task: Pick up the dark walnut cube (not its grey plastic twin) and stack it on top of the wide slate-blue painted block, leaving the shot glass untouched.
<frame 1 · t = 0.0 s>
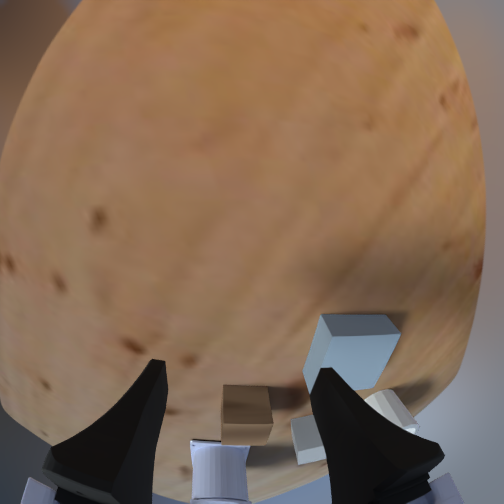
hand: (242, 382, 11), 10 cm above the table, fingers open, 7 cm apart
grey cube: (308, 423, 29), on the table
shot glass: (375, 402, 29), on the table
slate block: (343, 342, 24), on the table
walnut cube: (243, 398, 26), on the table
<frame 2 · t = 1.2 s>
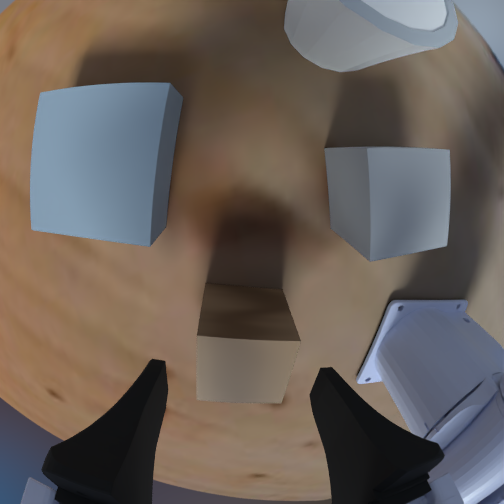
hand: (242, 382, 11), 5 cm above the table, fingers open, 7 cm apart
grey cube: (363, 185, 14), on the table
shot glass: (331, 32, 11), on the table
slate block: (114, 158, 13), on the table
walnut cube: (240, 317, 17), on the table
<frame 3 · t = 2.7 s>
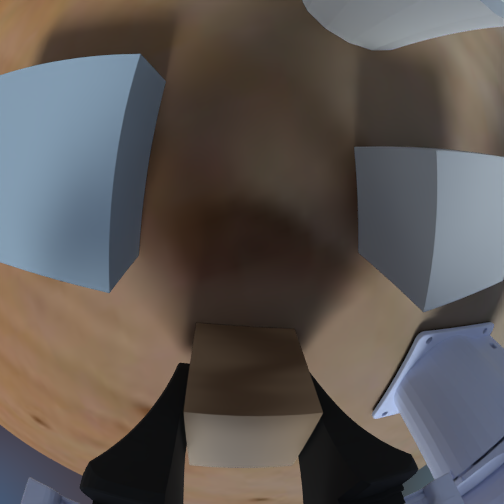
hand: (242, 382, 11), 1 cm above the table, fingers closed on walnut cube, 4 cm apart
grey cube: (400, 197, 10), on the table
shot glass: (356, 2, 7), on the table
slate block: (76, 161, 9), on the table
walnut cube: (241, 361, 13), on the table, touching gripper
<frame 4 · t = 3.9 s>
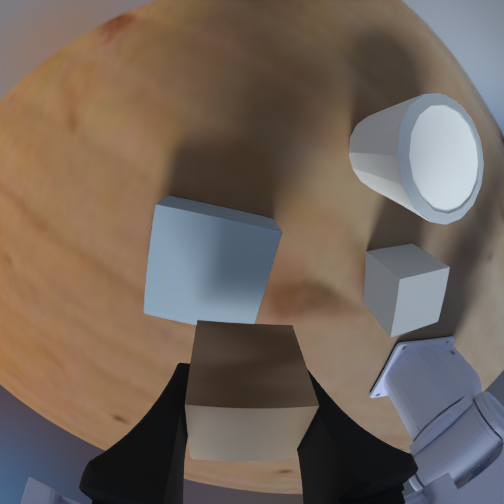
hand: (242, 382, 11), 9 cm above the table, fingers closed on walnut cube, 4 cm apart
grey cube: (388, 272, 20), on the table
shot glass: (381, 152, 17), on the table
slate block: (210, 254, 19), on the table
walnut cube: (241, 358, 13), point 7 cm above the table, touching gripper
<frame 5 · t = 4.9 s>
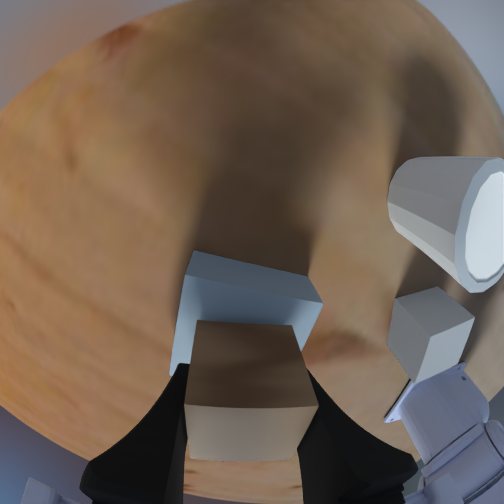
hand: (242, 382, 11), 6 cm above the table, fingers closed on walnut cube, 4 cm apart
grey cube: (412, 315, 19), on the table
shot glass: (418, 198, 15), on the table
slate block: (237, 310, 17), on the table
walnut cube: (240, 358, 13), point 4 cm above the table, touching gripper
when the fingers open (6 cm above the table, at t = 5.4 s): walnut cube stays where it is, resting on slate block.
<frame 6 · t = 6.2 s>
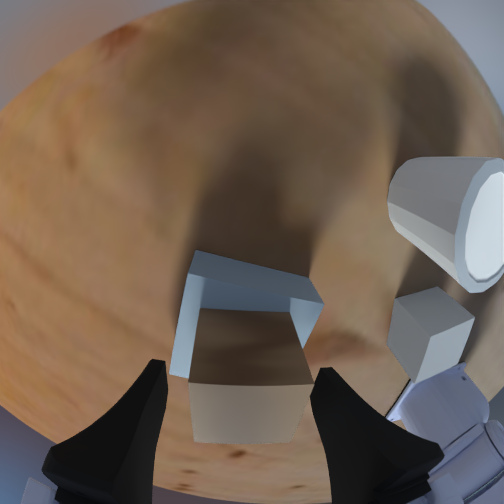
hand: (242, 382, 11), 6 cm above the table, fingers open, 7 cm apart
grey cube: (412, 315, 19), on the table
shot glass: (418, 198, 15), on the table
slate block: (238, 310, 17), on the table, touching walnut cube
walnut cube: (241, 344, 14), point 3 cm above the table, touching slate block
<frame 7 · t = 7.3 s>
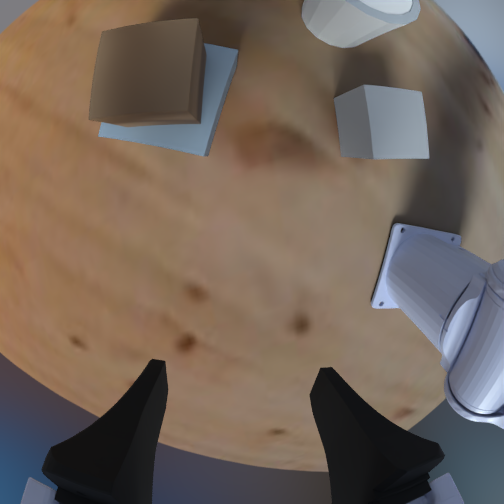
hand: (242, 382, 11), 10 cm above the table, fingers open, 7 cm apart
grey cube: (363, 126, 18), on the table
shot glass: (334, 20, 14), on the table
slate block: (174, 99, 16), on the table, touching walnut cube
walnut cube: (165, 89, 13), point 3 cm above the table, touching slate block
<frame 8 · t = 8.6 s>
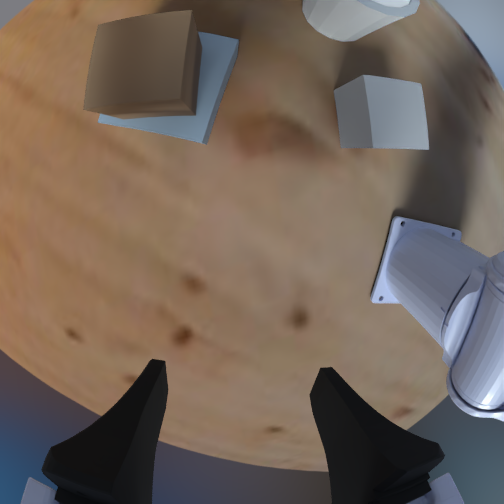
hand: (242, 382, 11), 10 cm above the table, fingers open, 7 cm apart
grey cube: (363, 119, 17), on the table
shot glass: (335, 15, 14), on the table
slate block: (175, 89, 16), on the table
walnut cube: (161, 81, 13), point 3 cm above the table
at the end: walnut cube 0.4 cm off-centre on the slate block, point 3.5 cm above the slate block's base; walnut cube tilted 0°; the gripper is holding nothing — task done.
